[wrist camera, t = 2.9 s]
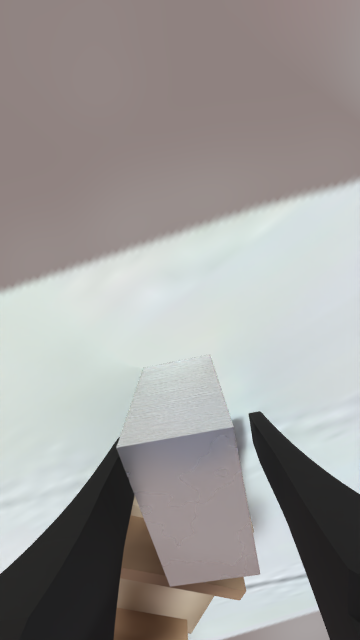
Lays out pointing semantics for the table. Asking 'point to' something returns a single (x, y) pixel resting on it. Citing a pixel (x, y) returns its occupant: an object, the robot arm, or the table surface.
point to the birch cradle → (160, 592)
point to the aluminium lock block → (188, 473)
